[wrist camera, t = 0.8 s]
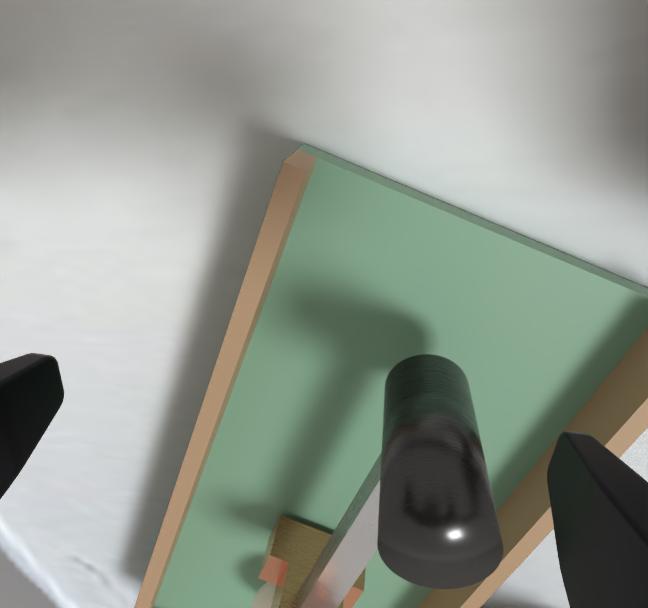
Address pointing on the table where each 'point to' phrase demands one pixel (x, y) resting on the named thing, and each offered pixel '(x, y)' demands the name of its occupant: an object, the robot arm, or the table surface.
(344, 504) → the pitch
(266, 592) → the ball
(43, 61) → the table surface
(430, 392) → the rod
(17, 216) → the table surface
